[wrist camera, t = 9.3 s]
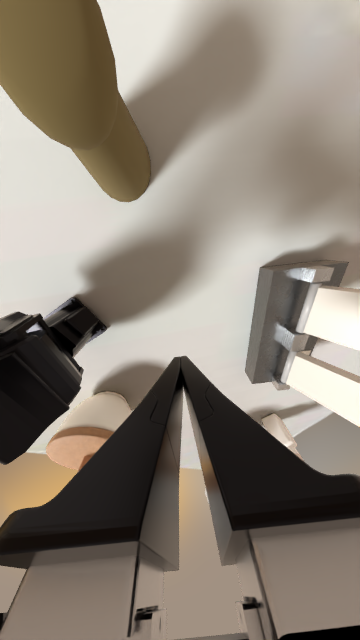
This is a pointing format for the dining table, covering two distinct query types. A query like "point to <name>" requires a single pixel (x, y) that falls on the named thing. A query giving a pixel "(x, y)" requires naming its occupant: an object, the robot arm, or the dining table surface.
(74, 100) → the pepper shaker
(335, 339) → the panel
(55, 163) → the dining table surface
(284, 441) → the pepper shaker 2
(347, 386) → the white orange-topped slab
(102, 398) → the lidded bowl
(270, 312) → the light switch frame
